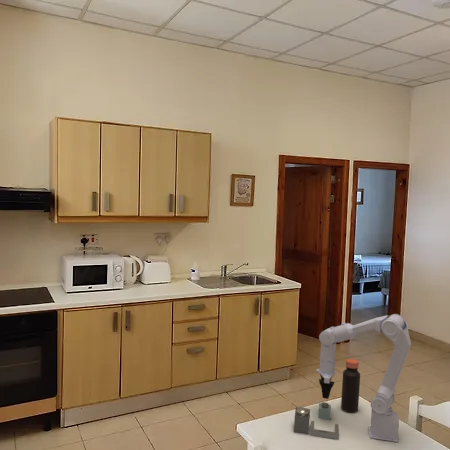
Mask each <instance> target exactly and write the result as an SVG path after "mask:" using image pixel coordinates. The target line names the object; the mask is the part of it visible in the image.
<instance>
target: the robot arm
mask: <svg viewBox="0 0 450 450" xmlns="http://www.w3.org/2000/svg"><path fill="white" fill-rule="evenodd" d="M373 330H374V331H376V332H377V333H380V334H381V333H382V334H384V336H386V337H387V338H388V339H389V340H390V341H391V342H392V345H394V349H393V351H392V354H391V356H390V358H389V362H388V365H387V367H386V369H385V373H384V375H383V377H382V378H383V379H382V381H381V384H380V386H379V388H378V390H377V392H376V394H375V396H373V397H372V399H370V408H371V414H370V417H371V418H370V425H368V426H367V429H368V433H369V438H370V439H375V440H381V441H389V442H395V443H396V442H397V443H398V442H399V427H400V416H399V413H398V412H397V411H393V408H392V406H393V404H394V402H395V401H396V400H395V399H396V398H395V391H396V388H397V387H396V386H397V384H398V382H399V379H400V377H401V374H402V371H403V368H404V366H405V362H406V360H407V357H408V355H409V352H410V349H411V347H412V341H411V337H410V331H409V325H408V323H407V322H406V320H405V318H404V317H403V316H401V315H400V314H398V313H393V314H391V315H383V316H379V317H378V316H377V317H375V318H372V319H368V320H366V321H363V322H360V323H356V324H351V323H350V322H347V323H346V322H342V323H341V324H339V325H337V326H330V327H329V328H326V329H325V330H322V331H321V332H320V334H319V336H318V338H319V339H318V340H319V342H320V351H319V353H320V354H319V368H316V371H315V372H316V373H319V375H320V378H319V379H318V383H319V386H320V388H321V389H320V390H321V396H322V399H326V400H328V399H329V397H330V395H331V391H332V389H333V387H334V385H335V381H332V378H333V377H334V376H335V374H336V371H335V368H336V367H335V366H336V352H337V343H341V342H345V341H349V340H352V339H355V337H356V334H357V335H358V334H360V333H364V332H369V331H373Z"/></svg>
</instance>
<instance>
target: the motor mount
mask: <svg viewBox="0 0 450 450" xmlns="http://www.w3.org/2000/svg"><path fill="white" fill-rule="evenodd" d="M310 419H311V409H310V408H307V407H305V406H304V407H303V406H302V407H301V406H300V407H298V406H296V407H295V411H294V419H293V421H294V422H293V424H294V425H293V433H297V434H304V435H309V434H310V435H309V436H311V437H315V438H316V437H318V438H323V439H324V438H325V439H329V440H336V441H337V440H338V441H339V440H340V427H339V424H338V423H334V431H330V430H329V431H328V430H323V429H317V428H315V420H311V421H310ZM309 430H310V431H309Z"/></svg>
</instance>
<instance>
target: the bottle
mask: <svg viewBox="0 0 450 450" xmlns="http://www.w3.org/2000/svg"><path fill="white" fill-rule="evenodd" d="M359 363H360V362H359V361H358V360H356V359H354V358H347V359H346V360H345V370H343V371H342V385H341V386H342V387H341V399H340V400H341V401H340V403H341V404H340V409H341V410H343V411H344V412H345V413H351V414H353V413H357V412H358V411H359V403H360V401H359V399H360V386H361V373H360V372H359V371H358V369H359Z"/></svg>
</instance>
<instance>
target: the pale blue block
mask: <svg viewBox="0 0 450 450" xmlns="http://www.w3.org/2000/svg"><path fill="white" fill-rule="evenodd" d="M331 406H332V405H331V404H330V403H328V402H326V401H325V402H319V403H318V416H317V417H318V419H320V420H321V419H322V420H329V421H331V416H332V415H331V413H332V407H331Z"/></svg>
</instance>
